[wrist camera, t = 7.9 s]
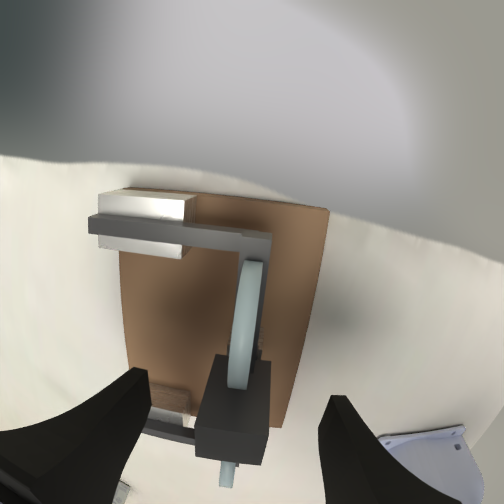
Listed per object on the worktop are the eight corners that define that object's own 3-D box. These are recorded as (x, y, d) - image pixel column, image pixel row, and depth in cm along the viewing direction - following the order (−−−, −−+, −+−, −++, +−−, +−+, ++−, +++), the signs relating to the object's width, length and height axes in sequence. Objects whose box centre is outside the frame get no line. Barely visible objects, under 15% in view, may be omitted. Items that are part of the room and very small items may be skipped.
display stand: (326, 208, 14) (339, 219, 11) (281, 417, 18) (281, 450, 15) (128, 187, 14) (98, 194, 12) (139, 393, 18) (124, 421, 16)
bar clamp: (290, 230, 11) (302, 279, 7) (253, 445, 15) (246, 514, 10) (97, 210, 12) (18, 239, 7) (124, 419, 16) (94, 476, 11)
